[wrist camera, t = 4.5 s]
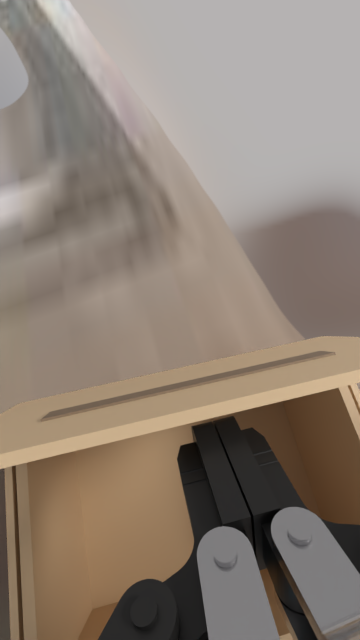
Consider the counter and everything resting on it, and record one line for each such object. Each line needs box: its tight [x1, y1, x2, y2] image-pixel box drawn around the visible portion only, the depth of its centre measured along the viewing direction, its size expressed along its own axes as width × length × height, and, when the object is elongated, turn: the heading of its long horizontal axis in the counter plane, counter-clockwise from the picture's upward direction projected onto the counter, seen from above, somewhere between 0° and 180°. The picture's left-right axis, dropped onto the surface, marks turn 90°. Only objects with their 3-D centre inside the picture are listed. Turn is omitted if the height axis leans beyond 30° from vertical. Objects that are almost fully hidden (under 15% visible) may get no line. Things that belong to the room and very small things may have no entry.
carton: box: [4, 384, 360, 640], centre depth 23 cm, size 21×15×11 cm
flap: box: [0, 336, 360, 469], centre depth 15 cm, size 19×1×10 cm, turn 103°
